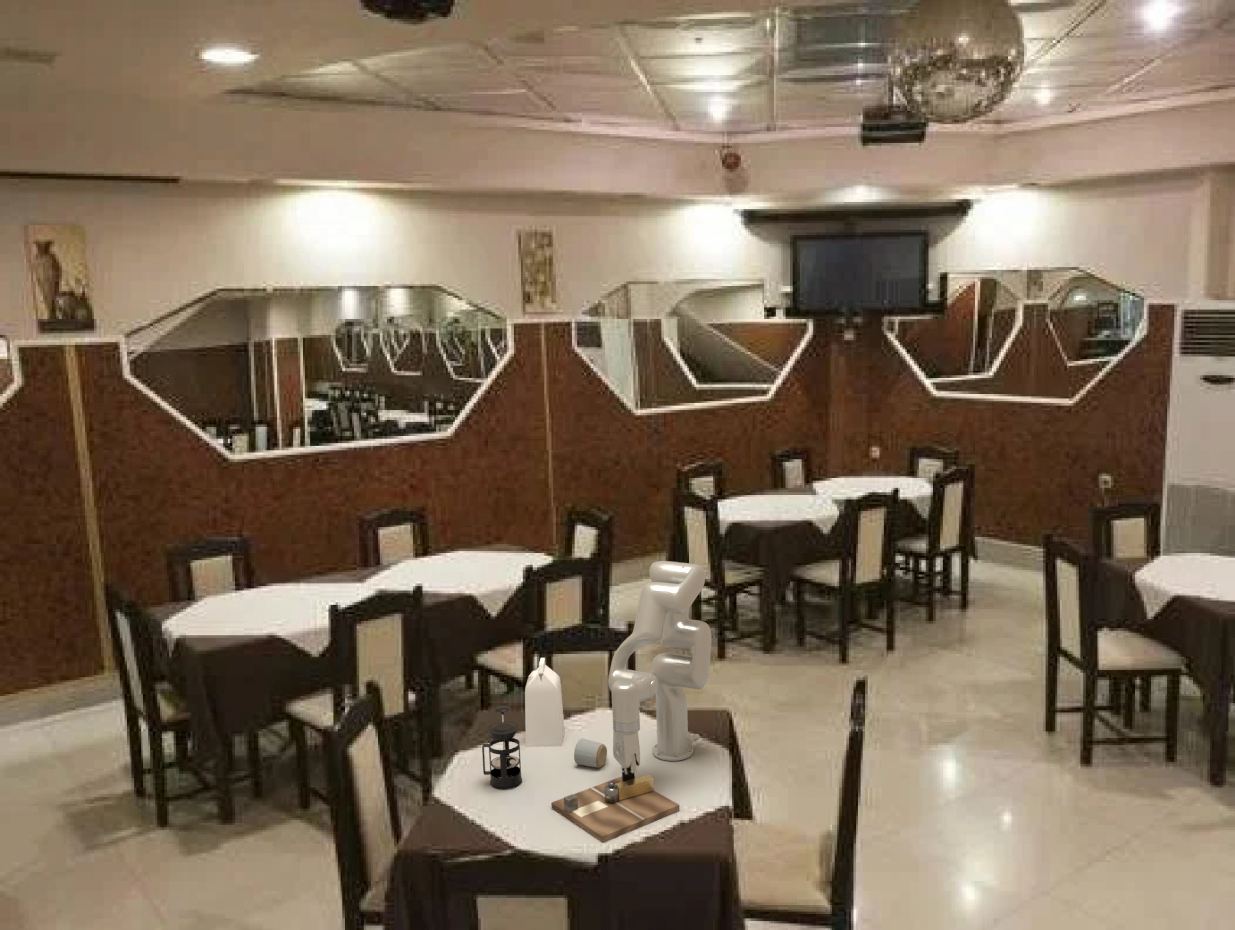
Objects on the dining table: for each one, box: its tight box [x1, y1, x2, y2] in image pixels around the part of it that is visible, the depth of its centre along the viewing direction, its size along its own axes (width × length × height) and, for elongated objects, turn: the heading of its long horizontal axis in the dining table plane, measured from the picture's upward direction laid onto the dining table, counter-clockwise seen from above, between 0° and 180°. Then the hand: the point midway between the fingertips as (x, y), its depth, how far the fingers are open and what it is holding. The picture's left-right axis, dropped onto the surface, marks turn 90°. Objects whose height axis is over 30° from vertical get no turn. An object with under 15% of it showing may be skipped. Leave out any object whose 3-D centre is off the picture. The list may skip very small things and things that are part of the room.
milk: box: [524, 657, 566, 748], centre depth 326 cm, size 12×12×26 cm
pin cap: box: [607, 780, 615, 788], centre depth 281 cm, size 2×2×1 cm
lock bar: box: [604, 774, 655, 803], centre depth 284 cm, size 14×4×4 cm, turn 118°
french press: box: [481, 705, 523, 791], centre depth 296 cm, size 12×9×23 cm
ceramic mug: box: [573, 738, 608, 768], centre depth 309 cm, size 11×8×8 cm
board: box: [550, 775, 680, 843], centre depth 280 cm, size 26×24×5 cm
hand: (628, 785), depth 288 cm, fingers closed
